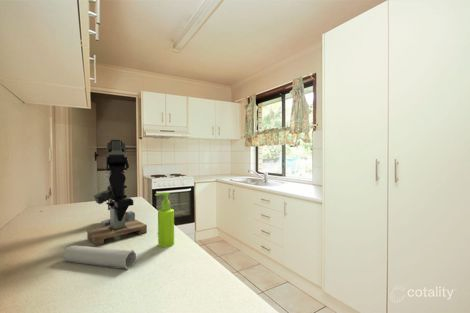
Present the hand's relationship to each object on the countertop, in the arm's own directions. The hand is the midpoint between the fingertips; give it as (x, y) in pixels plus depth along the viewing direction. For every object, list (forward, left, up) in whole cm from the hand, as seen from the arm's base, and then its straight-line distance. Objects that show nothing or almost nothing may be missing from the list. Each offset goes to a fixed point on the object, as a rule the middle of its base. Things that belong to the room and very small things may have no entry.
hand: (117, 220), depth 97 cm
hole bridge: (0, 0, -7) cm, 7 cm away
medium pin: (-12, +9, -7) cm, 16 cm away
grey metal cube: (-12, 0, -7) cm, 14 cm away
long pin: (0, 0, -4) cm, 4 cm away
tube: (+21, -14, -7) cm, 26 cm away
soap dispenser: (+23, +9, -7) cm, 26 cm away
